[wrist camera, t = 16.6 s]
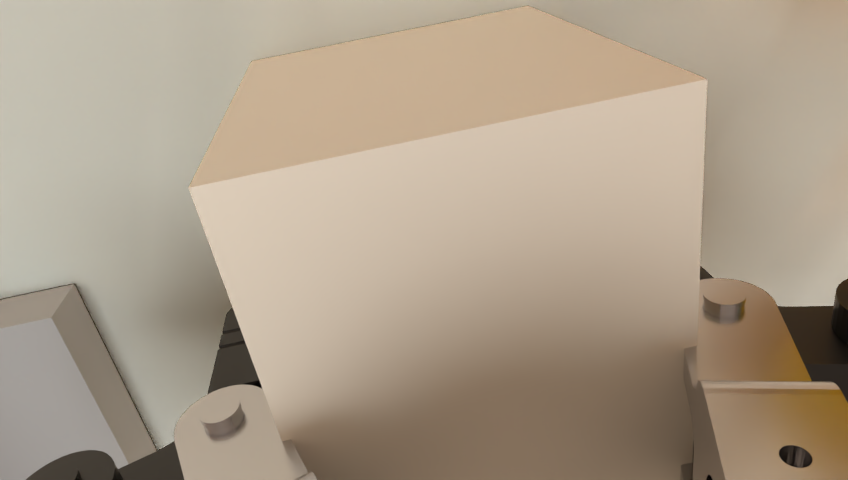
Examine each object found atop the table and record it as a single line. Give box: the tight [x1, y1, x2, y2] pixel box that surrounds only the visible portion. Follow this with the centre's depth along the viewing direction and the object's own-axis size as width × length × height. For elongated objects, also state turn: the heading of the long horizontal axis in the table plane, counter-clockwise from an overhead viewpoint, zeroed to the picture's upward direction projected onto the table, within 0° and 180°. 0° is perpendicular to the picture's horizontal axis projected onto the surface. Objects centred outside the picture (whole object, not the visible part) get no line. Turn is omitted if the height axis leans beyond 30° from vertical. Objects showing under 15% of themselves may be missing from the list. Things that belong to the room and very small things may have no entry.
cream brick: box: [188, 6, 707, 480], centre depth 11 cm, size 5×9×6 cm, turn 9°
